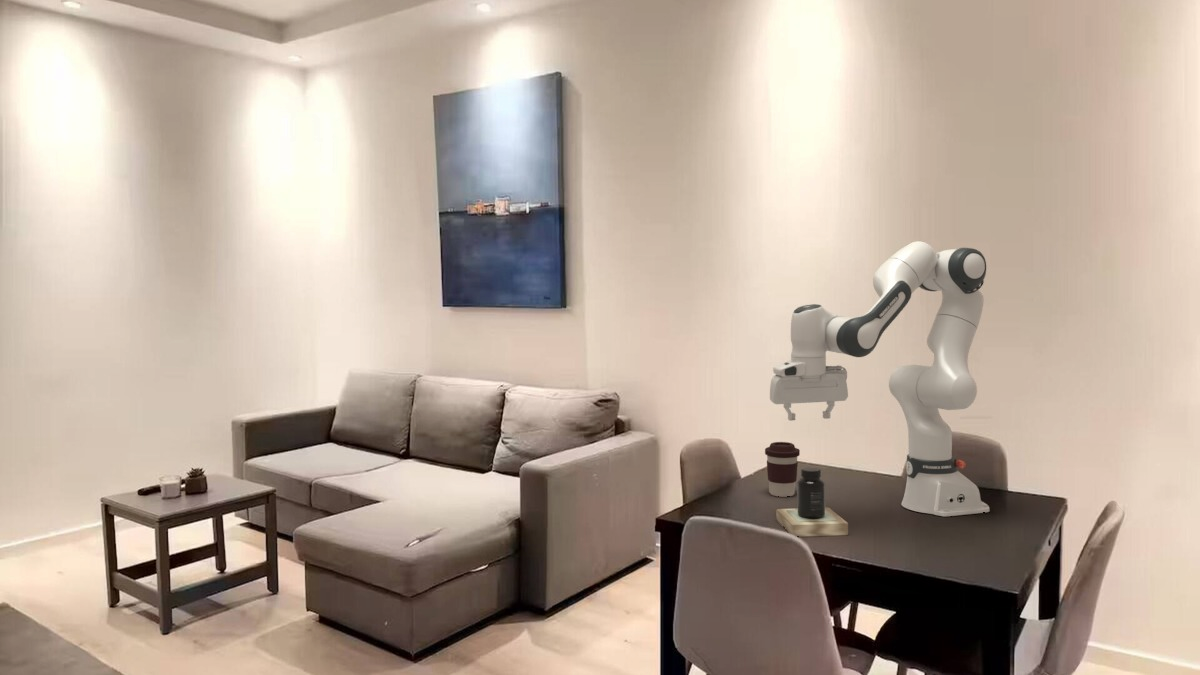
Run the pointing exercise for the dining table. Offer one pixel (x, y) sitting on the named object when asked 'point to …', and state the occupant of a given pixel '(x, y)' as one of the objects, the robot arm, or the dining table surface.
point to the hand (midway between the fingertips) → (809, 419)
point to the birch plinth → (812, 523)
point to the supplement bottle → (811, 494)
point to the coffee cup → (782, 468)
